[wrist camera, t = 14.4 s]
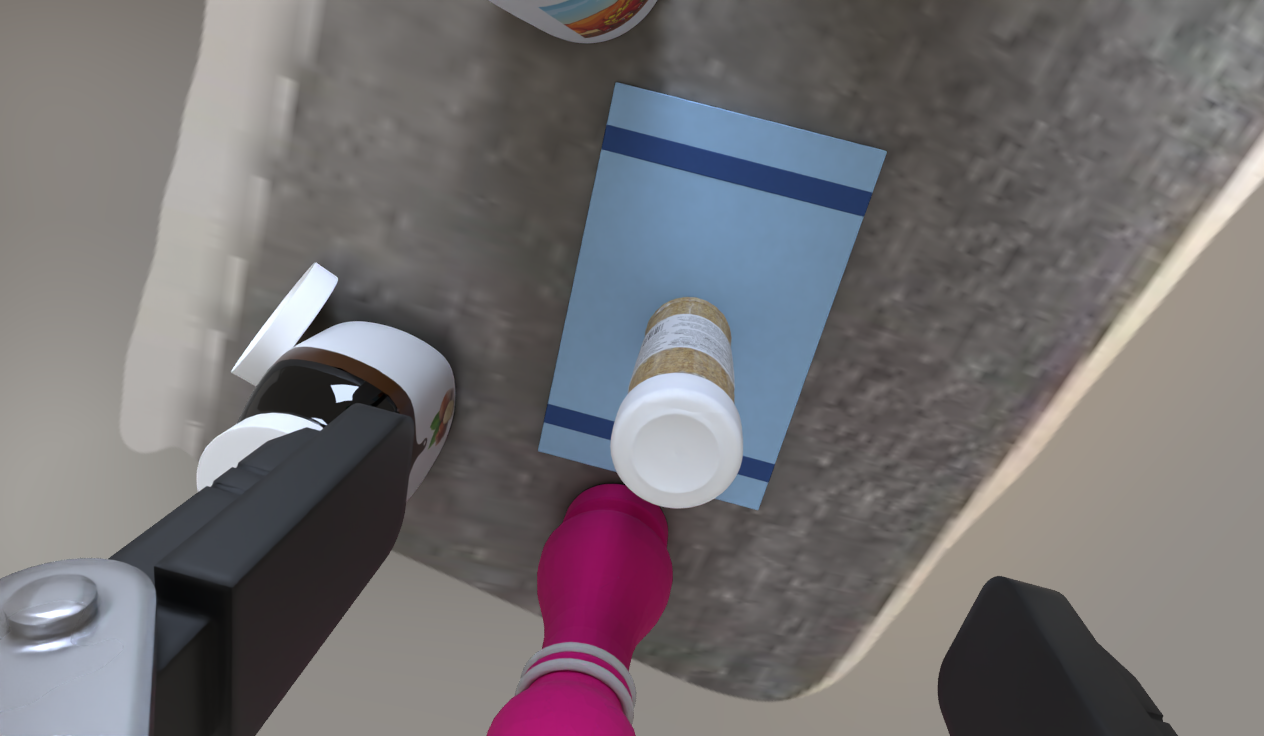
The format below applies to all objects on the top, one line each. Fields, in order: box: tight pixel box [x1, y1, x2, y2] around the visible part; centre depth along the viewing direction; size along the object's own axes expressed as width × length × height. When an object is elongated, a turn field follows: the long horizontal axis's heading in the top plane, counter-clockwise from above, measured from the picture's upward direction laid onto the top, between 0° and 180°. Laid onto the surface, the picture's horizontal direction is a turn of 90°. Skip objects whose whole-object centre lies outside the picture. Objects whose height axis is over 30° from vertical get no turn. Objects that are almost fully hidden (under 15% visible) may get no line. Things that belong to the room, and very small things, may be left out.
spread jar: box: [197, 263, 456, 502], centre depth 33 cm, size 12×11×12 cm
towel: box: [538, 82, 887, 510], centre depth 35 cm, size 20×13×1 cm, turn 167°
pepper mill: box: [487, 484, 673, 736], centre depth 31 cm, size 7×7×20 cm
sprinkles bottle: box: [610, 297, 743, 508], centre depth 29 cm, size 5×5×13 cm
